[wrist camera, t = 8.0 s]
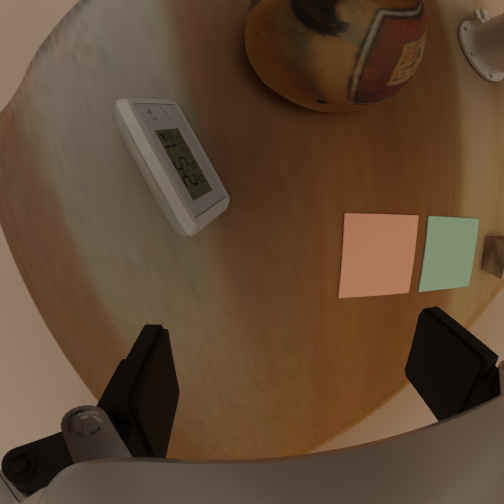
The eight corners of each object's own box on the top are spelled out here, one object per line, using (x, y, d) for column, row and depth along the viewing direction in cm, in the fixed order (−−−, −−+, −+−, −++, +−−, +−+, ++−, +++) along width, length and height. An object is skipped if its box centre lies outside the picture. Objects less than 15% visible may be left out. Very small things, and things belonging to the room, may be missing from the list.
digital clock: (234, 210, 37) (231, 225, 27) (168, 231, 38) (143, 253, 27) (197, 92, 33) (182, 63, 23) (132, 116, 33) (97, 100, 23)
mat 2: (427, 215, 38) (428, 216, 38) (477, 218, 39) (478, 219, 38) (417, 291, 41) (418, 291, 41) (467, 285, 42) (468, 286, 41)
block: (485, 235, 40) (507, 244, 34) (503, 236, 40) (524, 244, 34) (480, 268, 41) (501, 279, 35) (498, 267, 41) (518, 276, 36)
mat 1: (343, 212, 38) (344, 213, 37) (417, 215, 38) (418, 215, 38) (337, 297, 41) (338, 298, 41) (407, 292, 41) (408, 292, 41)
